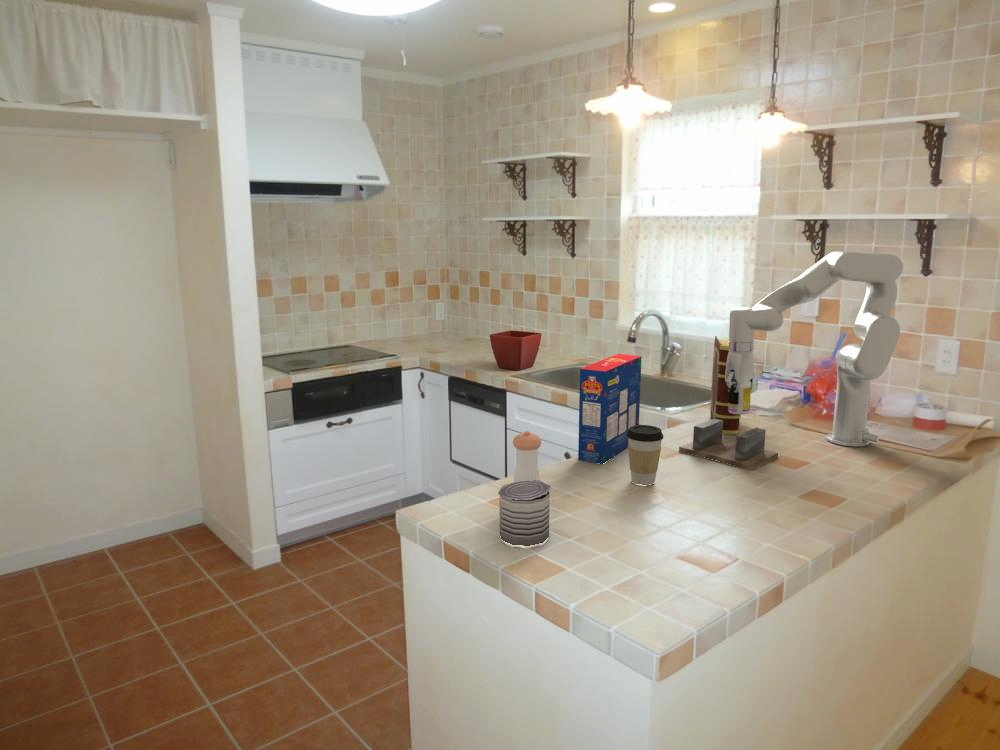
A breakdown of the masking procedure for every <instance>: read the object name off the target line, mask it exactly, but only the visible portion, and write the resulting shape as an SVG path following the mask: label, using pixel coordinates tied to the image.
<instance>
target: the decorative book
mask: <svg viewBox="0 0 1000 750" xmlns="http://www.w3.org/2000/svg"><path fill="white" fill-rule="evenodd" d="M713 343H714V346H713V357H712V358H713V360H712V374H711V395H710V409H709V410H710V420H712V419H719V420H723V430H722V435H727V436H728V435H729V436H730V435H732V436H733V435H739V434H740V433H741V432H740V431H741V430H740V419H741V417H742V416H741V415H739V414H732V413H730V412H729V411H728V399H729V391H728V388H727V385H726V381H725V373H726V363H727V357H728V352H729V339H718V337H717V335H715V336H714V342H713Z"/></svg>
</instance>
